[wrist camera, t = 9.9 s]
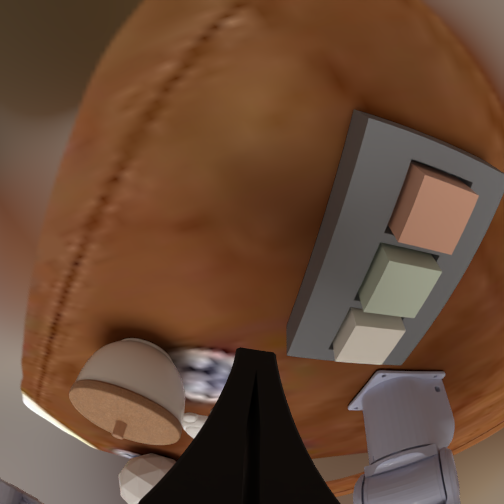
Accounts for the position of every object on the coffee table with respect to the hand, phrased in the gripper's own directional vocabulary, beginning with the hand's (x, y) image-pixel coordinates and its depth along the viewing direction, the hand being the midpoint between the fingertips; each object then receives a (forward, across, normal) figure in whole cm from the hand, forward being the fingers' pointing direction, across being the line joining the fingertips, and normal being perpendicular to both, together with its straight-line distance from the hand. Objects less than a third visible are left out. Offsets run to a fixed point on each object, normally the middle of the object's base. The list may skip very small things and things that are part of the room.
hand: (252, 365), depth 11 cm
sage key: (+9, -8, 0) cm, 12 cm away
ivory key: (+9, -9, +5) cm, 13 cm away
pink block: (+9, -9, -5) cm, 13 cm away
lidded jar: (+11, +9, +17) cm, 22 cm away
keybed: (+10, -8, 0) cm, 13 cm away
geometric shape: (+11, +10, +55) cm, 57 cm away
